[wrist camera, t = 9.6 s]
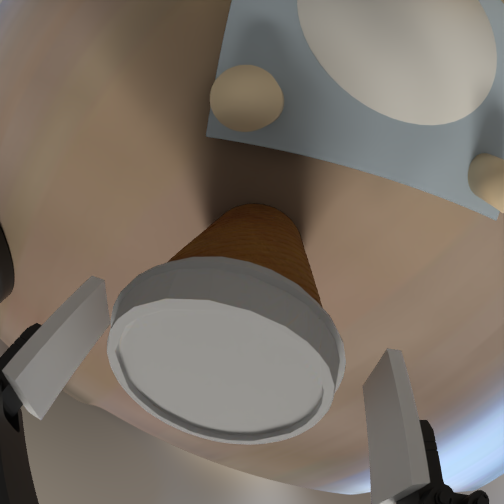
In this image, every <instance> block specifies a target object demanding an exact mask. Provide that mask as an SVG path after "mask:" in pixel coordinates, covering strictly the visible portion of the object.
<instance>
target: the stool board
mask: <svg viewBox="0 0 504 504" xmlns="http://www.w3.org/2000/svg"><path fill="white" fill-rule="evenodd" d="M210 105H211V107H210V113H209V119H208V126H207V132H206V137H212V138H218V139H224V140H230V141H236V142H242V143H247V144H252V145H258V146H263V147H268V148H273V149H277V150H282V151H286V152H291V153H295V154H300V155H304V156H308V157H312V158H316V159H320V160H324V161H328V162H332V163H336V164H339V165H343V166H347V167H350V168H354V169H357V170H361V171H364V172H367V173H371V174H374V175H377V176H380V177H384V178H387V179H390V180H393V181H396V182H399V183H402V184H405V185H408V186H411V187H414V188H416V189H419V190H422V191H425V192H428V193H430V194H433V195H436V196H438V197H441V198H444V199H446V200H449V201H451V202H454V203H456V204H459V205H461V206H464V207H466V208H468V209H471V210H473V211H476V212H478V213H480V214H482V215H485V216H487V217H489V218H491V219H494V220H497V217H498V215H499V212H502V213H503V214H504V0H232V2H231V6H230V11H229V15H228V20H227V24H226V29H225V33H224V38H223V43H222V48H221V52H220V57H219V63H218V68H217V73H216V78H215V82H214V84H213V86H212V89H211V92H210Z"/></svg>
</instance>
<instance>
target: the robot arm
mask: <svg viewBox="0 0 504 504" xmlns="http://www.w3.org/2000/svg"><path fill="white" fill-rule="evenodd" d="M13 286H14V272H13V266H12V261H11V257H10V253H9V250H8V247H7V244H6V241H5V238H4V236H3V233H2V231H1V228H0V303H1V302H2V301H3V300H4V299H5V298H6V297H8V296H9V295H10V294H11V292H12V290H13ZM109 325H110V318H109V311H108V304H107V297H106V289H105V280H103V279H100V278H97V277H94V276H91V277H90V278H89V279H88V280H87V281H86V282H85V283H84V284H82V285H81V286H80V287H79V288H78V289H77V290H76V291H75V292H74V293H73V294H72V295H71V296H70V297H69V298H68V299H67V300H66V301H65V302H64V303H63V304H62V305H61V306H60V307H59V308H58V309H57V310H56V311H55V312H54V313H53V314H52V315H51V316H50V317H49V318H48V320H47V321H46V322H45V323H44V324H43V325H40V324H38V323H36V324H34V325H32V326H30V327H29V328H27V329H26V330H25V331H24V332H23V333H22V334H21V335H20V338H19V337H18V339H17V340H16V341H15V342H14V344H12V345H11V346H10V347H9V348H8V349H7V351H6V352H5V353H4V354H3V355H2V356H1V357H0V504H39V503H38V499H37V496H36V492H35V488H34V484H33V480H32V475H31V471H30V466H29V461H28V455H27V449H26V443H25V436H24V428H23V420H22V412H21V409H20V408H21V406H22V405H24V406H25V408H26V409H27V411H28V412H29V413H31V414H32V415H34V416H35V417H37V418H39V419H40V420H42V418H43V417H44V415H45V414H46V412H47V411H48V409H49V408H50V406H51V405H52V403H53V402H54V400H55V399H56V397H57V396H58V394H59V393H60V391H61V390H62V389H63V387H64V386H65V384H66V383H67V382H68V380H69V379H70V377H71V376H72V375H73V373H74V372H75V370H76V369H77V368H78V366H79V365H80V363H81V362H82V361H83V359H84V358H85V357H86V355H87V354H88V353H89V351H90V350H91V349H92V347H93V346H94V345H95V343H96V342H97V341H98V339H99V338H100V337H101V335H102V334H103V333H104V331H105V330H106V329H107V328H108V326H109ZM363 393H364V402H365V411H366V421H367V432H368V445H369V460H370V480H371V504H393V503H395V502H396V504H489V498H488V496H487V494H486V493H485V492H484V491H482V490H477V491H475V492H473V493H472V494H470V495H464V494H458V493H454V492H453V490H452V489H451V488H450V487H449V486H448V485H445V484H444V482H443V478H442V472H441V466H440V461H439V455H438V451H437V445H436V443H435V436H434V431H433V429H432V427H431V425H430V424H429V422H428V421H427V420H419V417H418V413H417V408H416V404H415V400H414V396H413V392H412V388H411V384H410V380H409V376H408V373H407V369H406V365H405V362H404V358H403V355H402V352H401V350H394V349H388V348H387V350H386V351H385V353H384V354H383V356H382V357H381V359H380V361H379V362H378V364H377V365H376V367H375V368H374V370H373V371H372V373H371V374H370V376H369V377H368V379H367V380H366V382H365V383H364V385H363Z"/></svg>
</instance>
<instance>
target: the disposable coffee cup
mask: <svg viewBox="0 0 504 504" xmlns="http://www.w3.org/2000/svg"><path fill="white" fill-rule="evenodd" d="M107 354H108V358H109V362H110V366H111V369H112V371H113V372H114V374H115V376H116V378H117V380H118V382H119V383H120V384H121V386H122V387H123V389H124V390H125V391H126V392H127V393H128V394H129V395H130V397H131V398H132V399H133V400H134V401H136V402H137V403H138V404H139V405H140V406H141V407H142V408H144V409H145V410H146V411H147V412H148V413H150V414H152V415H153V416H155V417H156V418H158V419H160V420H161V421H163V422H165V423H166V424H168V425H170V426H172V427H174V428H177V429H179V430H181V431H183V432H186V433H189V434H192V435H195V436H198V437H201V438H204V439H209V440H213V441H217V442H223V443H232V444H265V443H271V442H277V441H281V440H285V439H289V438H291V437H294V436H296V435H299V434H301V433H303V432H305V431H306V430H308V429H310V428H311V427H313V426H314V425H315V424H316V423H317V422H318V421H319V420H320V419H321V418H322V417H323V416H324V415H325V414H326V413H327V411H328V410H329V408H330V406H331V403H332V401H333V397H334V393H335V392H336V391H337V389H338V387H339V385H340V383H341V381H342V378H343V376H344V370H345V364H346V360H345V352H344V345H343V341H342V338H341V336H340V334H339V332H338V330H337V328H336V327H335V325H334V323H333V321H332V319H331V317H330V316H329V314H328V313H327V312H326V311H325V310H324V309H323V308H322V304H321V301H320V297H319V294H318V290H317V288H316V284H315V281H314V278H313V275H312V271H311V268H310V265H309V262H308V258H307V255H306V253H305V249H304V246H303V243H302V240H301V237H300V233H299V231H298V229H297V227H296V226H295V224H294V223H293V222H292V220H291V219H290V218H289V217H287V216H286V215H285V214H284V213H283V212H281V211H279V210H277V209H276V208H273V207H270V206H267V205H262V204H245V205H241V206H237V207H235V208H233V209H230V210H229V211H228V212H226V213H225V214H224V215H223V216H221V217H220V218H219V219H218V220H216V221H215V222H214V223H213V224H211V225H210V226H209V227H208V228H207V229H206V230H204V231H203V232H202V233H201V234H200V235H199V236H197V237H196V238H195V239H193V240H192V241H191V242H190V243H189V244H188V245H186V246H185V247H184V248H183V249H182V250H181V251H179V252H178V253H177V254H176V255H175V256H174V257H172V258H171V259H170V260H169V261H168V262H167V263H164V264H161V265H158V266H155V267H153V268H151V269H149V270H147V271H145V272H143V273H141V274H139V275H138V276H137V277H136V278H135V279H134V280H132V281H131V282H130V283H129V284H128V285H127V286H126V287H125V288H124V289H123V290H122V291H121V293H120V294H119V296H118V298H117V300H116V302H115V304H114V306H113V311H112V316H111V329H110V333H109V337H108V341H107Z"/></svg>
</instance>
